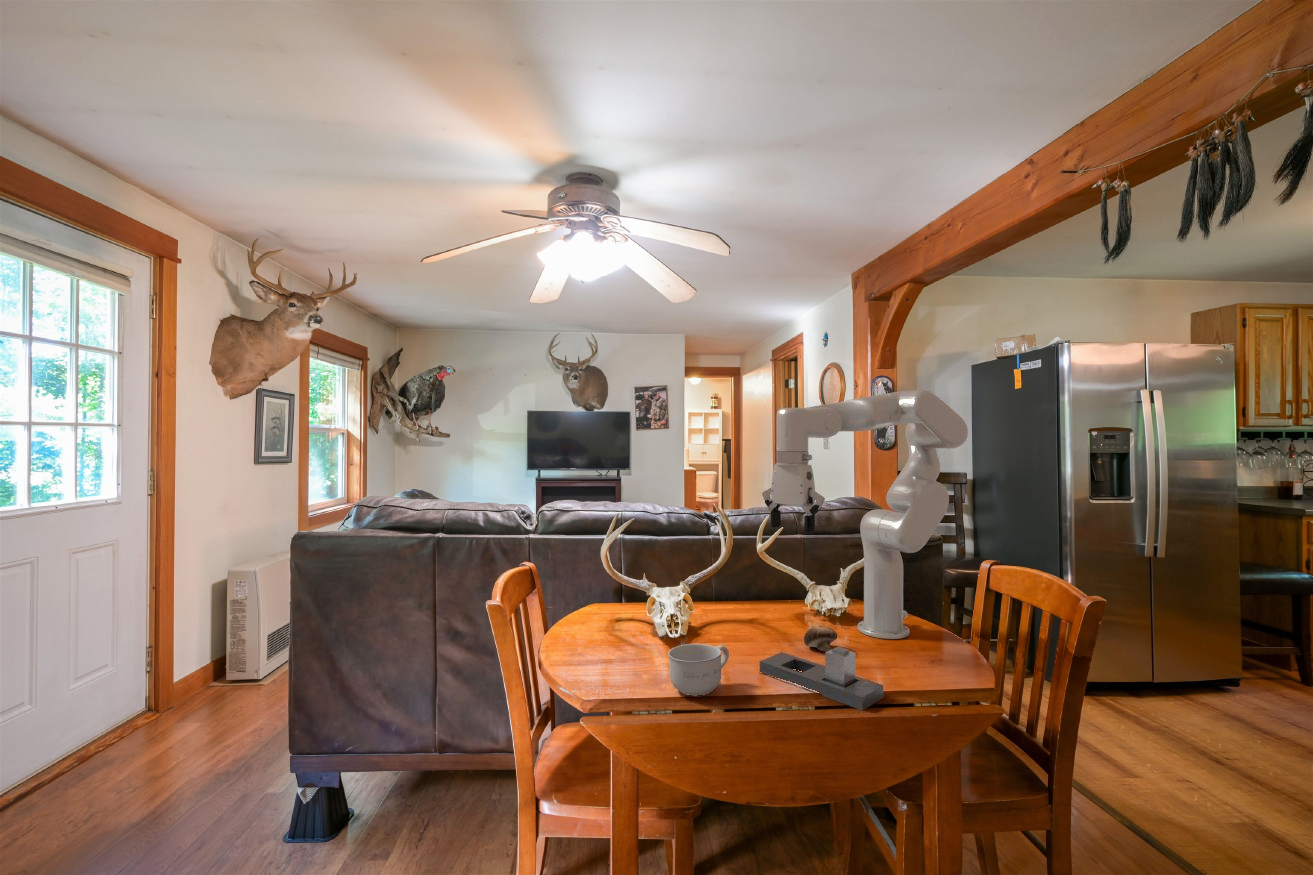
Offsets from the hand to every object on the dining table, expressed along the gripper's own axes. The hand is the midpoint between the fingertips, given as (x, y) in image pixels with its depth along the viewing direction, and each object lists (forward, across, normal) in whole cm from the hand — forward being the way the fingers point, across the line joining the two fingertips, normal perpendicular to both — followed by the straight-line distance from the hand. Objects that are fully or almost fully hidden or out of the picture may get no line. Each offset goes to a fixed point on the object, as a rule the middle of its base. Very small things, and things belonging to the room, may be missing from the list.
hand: (792, 529), depth 147 cm
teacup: (+29, -2, +34) cm, 44 cm away
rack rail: (+28, -17, +15) cm, 36 cm away
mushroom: (+29, -6, -3) cm, 29 cm away
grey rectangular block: (+28, -22, +15) cm, 39 cm away
